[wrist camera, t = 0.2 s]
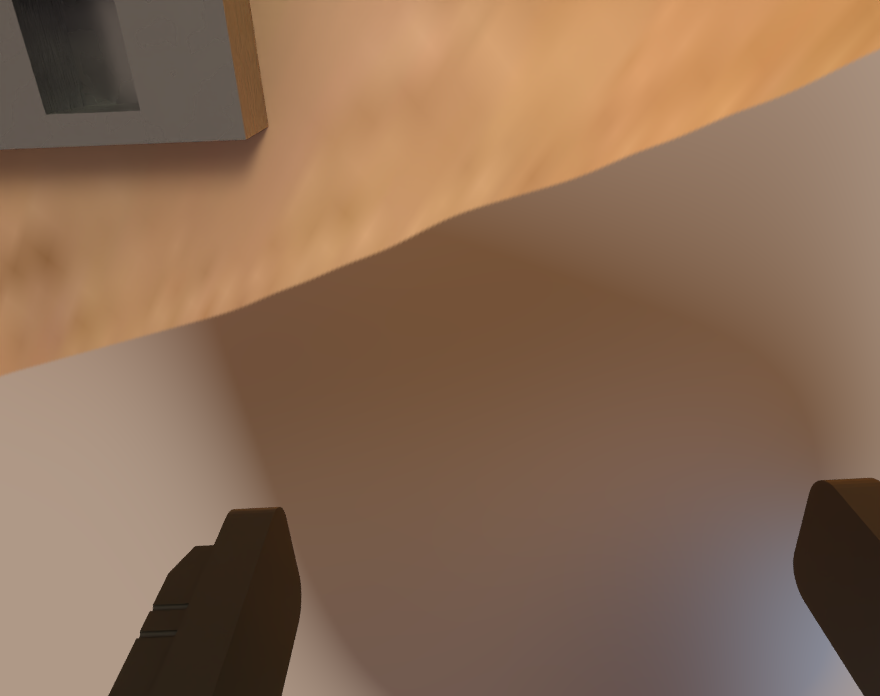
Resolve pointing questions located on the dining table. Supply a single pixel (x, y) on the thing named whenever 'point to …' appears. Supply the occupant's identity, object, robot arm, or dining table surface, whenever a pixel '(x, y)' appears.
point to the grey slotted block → (127, 72)
